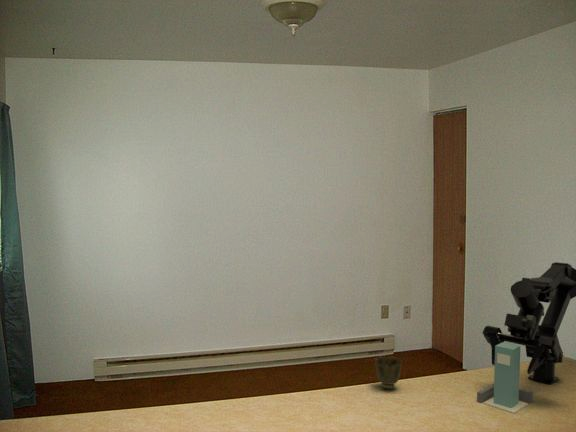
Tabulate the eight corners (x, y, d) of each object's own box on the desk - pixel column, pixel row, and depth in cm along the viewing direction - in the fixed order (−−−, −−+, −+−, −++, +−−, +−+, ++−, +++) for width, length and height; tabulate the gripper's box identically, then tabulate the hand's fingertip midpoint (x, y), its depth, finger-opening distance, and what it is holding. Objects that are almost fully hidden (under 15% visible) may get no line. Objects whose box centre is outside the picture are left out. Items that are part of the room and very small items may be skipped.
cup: (400, 383, 152) (400, 356, 152) (402, 393, 145) (403, 364, 144) (373, 382, 153) (373, 355, 152) (375, 392, 145) (375, 363, 145)
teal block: (500, 398, 142) (502, 342, 141) (518, 403, 138) (520, 345, 138) (493, 403, 138) (494, 345, 137) (511, 408, 135) (513, 349, 134)
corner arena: (496, 391, 147) (496, 382, 147) (533, 401, 140) (533, 392, 140) (476, 401, 140) (477, 392, 140) (514, 413, 133) (514, 403, 133)
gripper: (486, 296, 149) (466, 344, 142) (557, 307, 135) (539, 360, 128) (497, 319, 155) (479, 366, 148) (567, 332, 141) (550, 384, 134)
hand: (510, 368), depth 139 cm, fingers open, 9 cm apart
